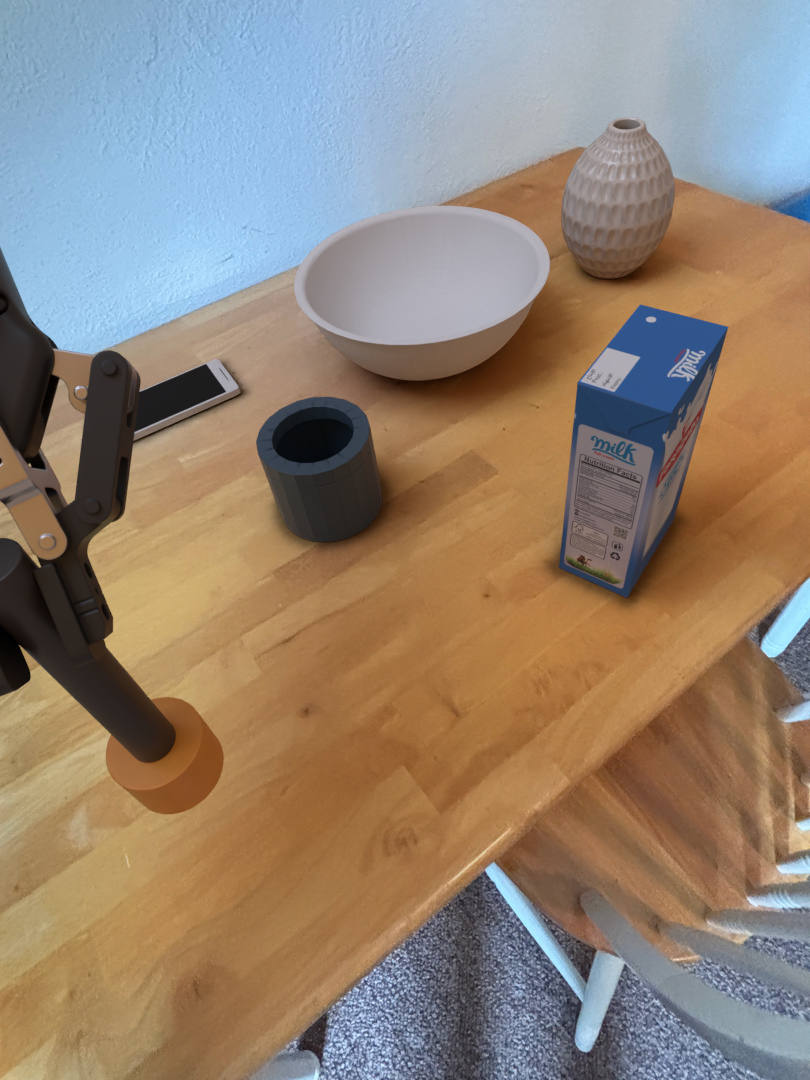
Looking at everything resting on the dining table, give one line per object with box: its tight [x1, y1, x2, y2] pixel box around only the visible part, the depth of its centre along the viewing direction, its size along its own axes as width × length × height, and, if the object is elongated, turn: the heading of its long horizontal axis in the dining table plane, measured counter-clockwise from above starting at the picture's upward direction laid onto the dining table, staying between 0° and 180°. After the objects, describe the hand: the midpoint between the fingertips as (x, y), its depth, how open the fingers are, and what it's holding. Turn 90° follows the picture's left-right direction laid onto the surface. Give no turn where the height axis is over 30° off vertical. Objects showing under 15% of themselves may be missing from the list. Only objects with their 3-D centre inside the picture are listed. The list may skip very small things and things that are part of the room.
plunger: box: [0, 537, 225, 815], centre depth 30 cm, size 5×5×18 cm
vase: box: [560, 116, 676, 280], centre depth 83 cm, size 13×13×17 cm
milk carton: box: [558, 304, 729, 599], centre depth 54 cm, size 10×6×20 cm, turn 145°
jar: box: [255, 396, 384, 543], centre depth 65 cm, size 10×10×9 cm
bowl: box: [293, 205, 551, 381], centre depth 79 cm, size 27×27×10 cm
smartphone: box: [134, 358, 241, 441], centre depth 81 cm, size 7×16×1 cm, turn 121°
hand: (53, 671), depth 25 cm, fingers closed on plunger
